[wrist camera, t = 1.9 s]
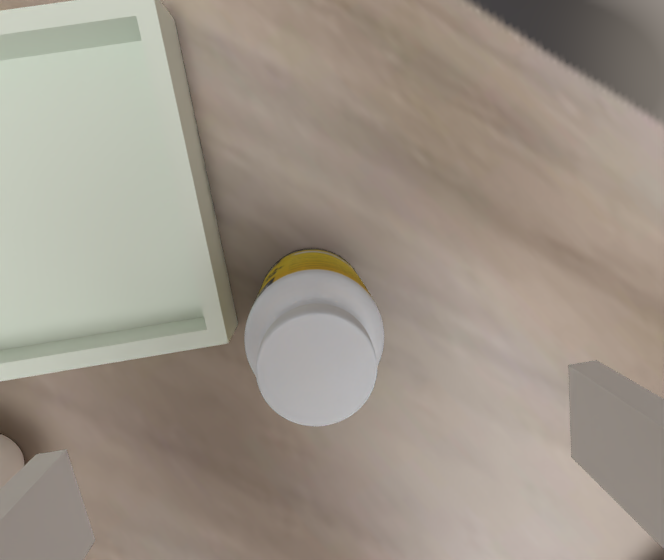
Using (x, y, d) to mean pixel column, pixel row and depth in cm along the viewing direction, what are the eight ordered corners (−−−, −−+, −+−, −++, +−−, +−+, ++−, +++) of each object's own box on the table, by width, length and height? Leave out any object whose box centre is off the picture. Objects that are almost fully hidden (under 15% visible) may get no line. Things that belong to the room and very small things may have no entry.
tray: (-44, 370, 27) (-96, 397, 23) (-155, 66, 23) (-238, 43, 19) (238, 324, 27) (228, 343, 24) (174, 20, 24) (152, -11, 20)
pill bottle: (289, 228, 26) (278, 256, 15) (379, 275, 27) (432, 333, 16) (244, 318, 27) (201, 407, 16) (332, 359, 28) (351, 471, 17)
